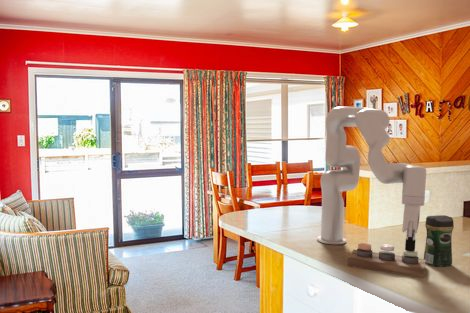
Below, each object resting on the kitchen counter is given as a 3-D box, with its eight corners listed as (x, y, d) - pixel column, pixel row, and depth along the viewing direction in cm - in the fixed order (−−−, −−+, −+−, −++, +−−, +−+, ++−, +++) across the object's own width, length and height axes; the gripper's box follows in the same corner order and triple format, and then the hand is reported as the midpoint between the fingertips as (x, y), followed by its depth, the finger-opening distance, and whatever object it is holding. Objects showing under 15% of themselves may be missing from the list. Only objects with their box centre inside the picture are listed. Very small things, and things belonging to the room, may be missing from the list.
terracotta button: (359, 245, 170) (359, 242, 169) (372, 247, 168) (372, 244, 167) (357, 249, 165) (357, 245, 165) (370, 250, 163) (370, 247, 163)
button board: (353, 256, 174) (353, 244, 174) (425, 267, 163) (425, 254, 163) (347, 265, 164) (348, 252, 163) (423, 277, 153) (424, 263, 152)
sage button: (403, 251, 163) (403, 248, 163) (417, 253, 161) (418, 250, 161) (402, 255, 158) (402, 252, 158) (417, 257, 156) (417, 254, 156)
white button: (381, 246, 166) (381, 243, 166) (394, 248, 164) (394, 245, 164) (379, 249, 162) (379, 246, 162) (393, 251, 160) (393, 248, 160)
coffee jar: (441, 259, 173) (443, 213, 171) (455, 266, 165) (458, 217, 164) (419, 261, 171) (422, 213, 169) (432, 267, 163) (435, 218, 162)
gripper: (403, 195, 166) (400, 243, 168) (400, 202, 153) (397, 254, 155) (425, 197, 163) (422, 246, 165) (423, 204, 150) (420, 257, 151)
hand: (409, 250), depth 160 cm, fingers closed
